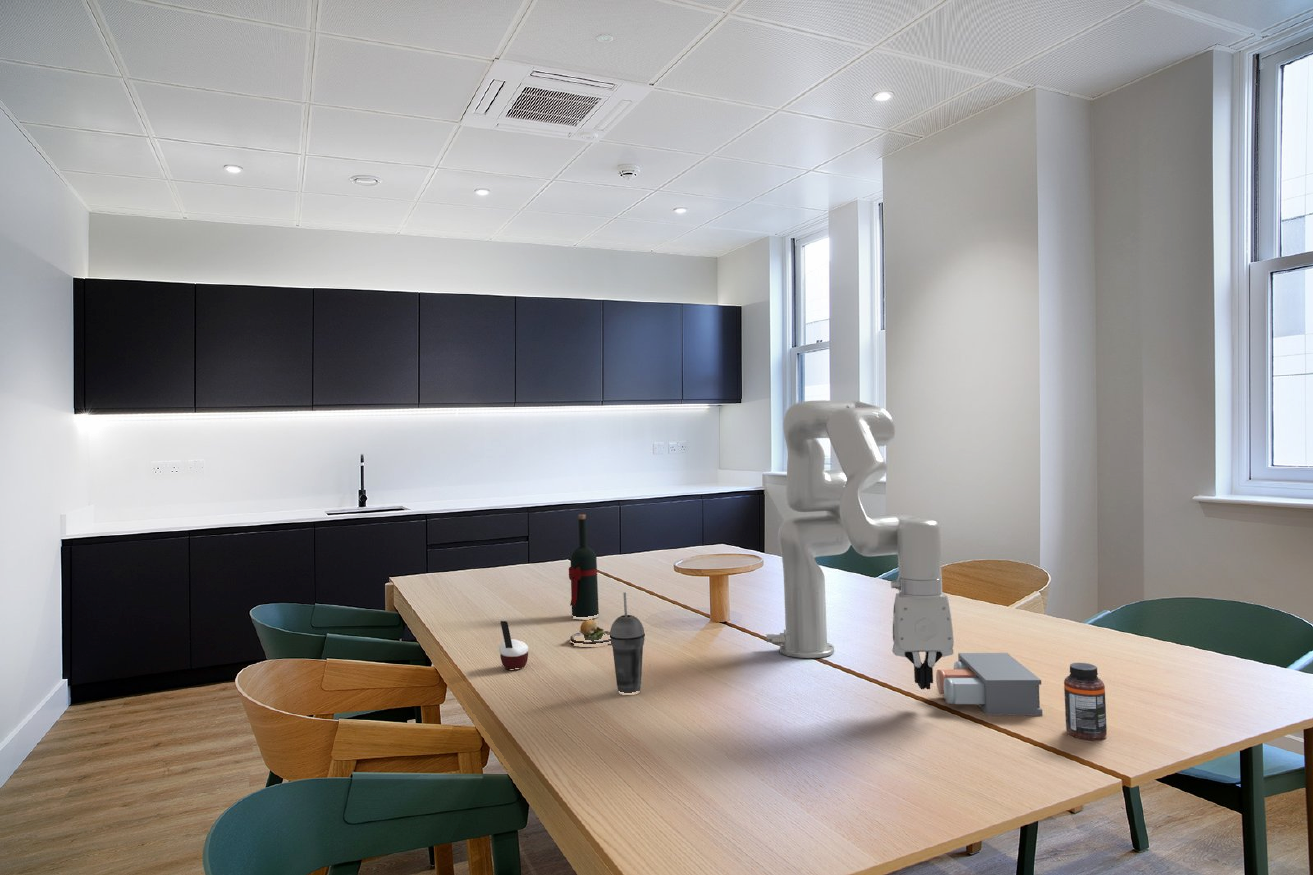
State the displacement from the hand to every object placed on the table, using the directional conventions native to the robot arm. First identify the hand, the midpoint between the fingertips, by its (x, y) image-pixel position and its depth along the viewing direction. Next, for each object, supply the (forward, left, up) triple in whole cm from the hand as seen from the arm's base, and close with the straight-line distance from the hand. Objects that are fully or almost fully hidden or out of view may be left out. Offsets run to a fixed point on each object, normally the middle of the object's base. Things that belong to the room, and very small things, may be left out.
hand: (923, 686), depth 145 cm
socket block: (+14, +6, -4) cm, 16 cm away
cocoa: (-85, +27, -4) cm, 89 cm away
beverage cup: (-56, +10, -4) cm, 57 cm away
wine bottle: (-79, +78, -4) cm, 111 cm away
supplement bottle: (+23, -12, -4) cm, 27 cm away
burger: (-71, +51, -4) cm, 87 cm away
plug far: (+13, +11, -3) cm, 17 cm away
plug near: (+9, 0, -3) cm, 9 cm away
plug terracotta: (+9, +6, -3) cm, 11 cm away
